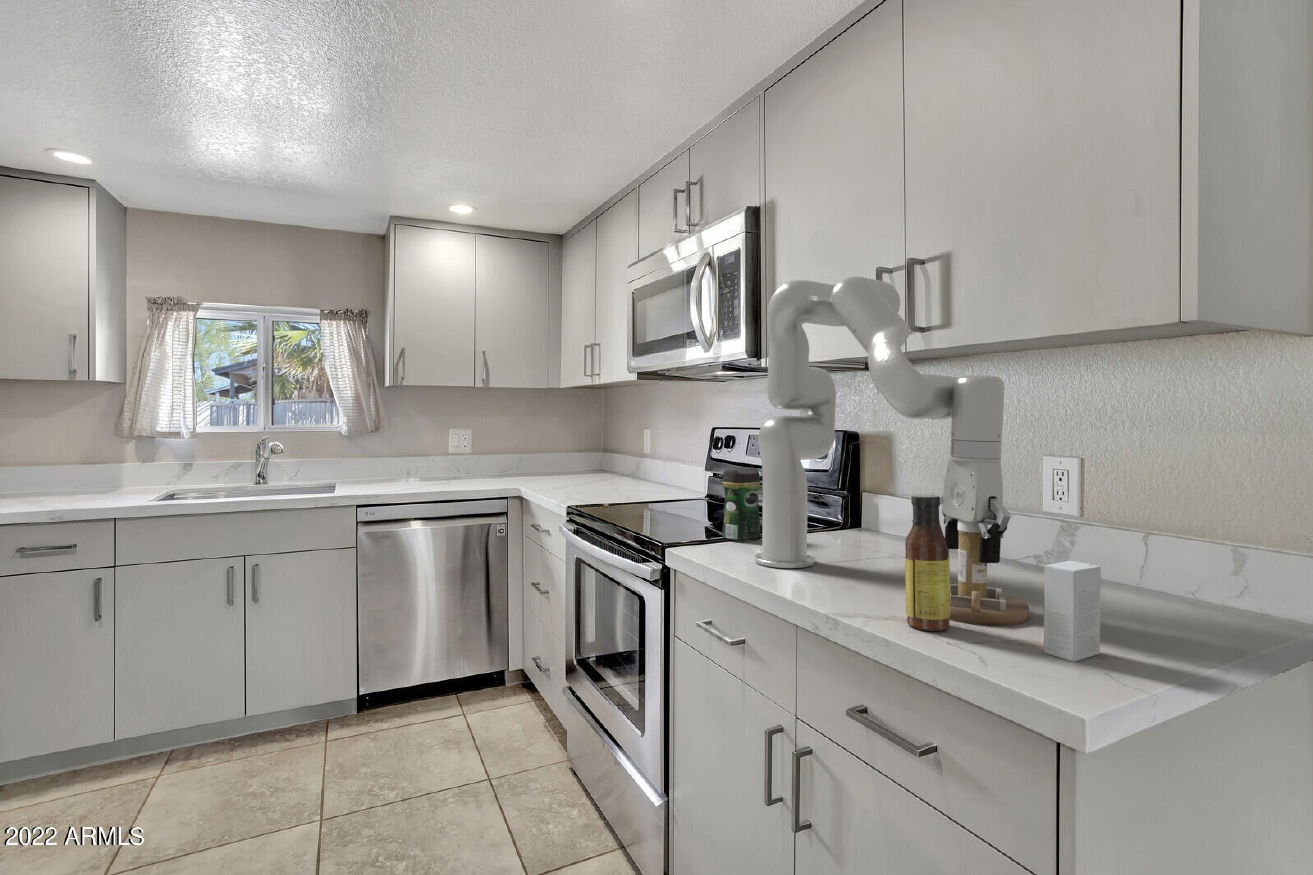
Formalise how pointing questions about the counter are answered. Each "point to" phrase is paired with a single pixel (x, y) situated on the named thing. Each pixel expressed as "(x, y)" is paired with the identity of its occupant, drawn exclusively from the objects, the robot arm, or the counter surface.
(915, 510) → the sauce bottle
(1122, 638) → the counter surface
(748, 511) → the coffee jar
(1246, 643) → the counter surface
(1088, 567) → the skincare box
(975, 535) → the spice jar
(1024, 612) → the brown piece
